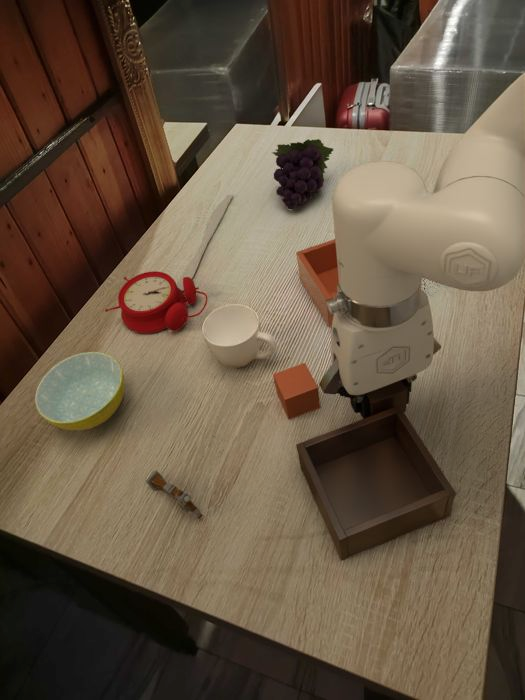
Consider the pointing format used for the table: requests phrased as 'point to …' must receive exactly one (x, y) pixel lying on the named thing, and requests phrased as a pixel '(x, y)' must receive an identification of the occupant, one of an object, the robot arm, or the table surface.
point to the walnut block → (387, 398)
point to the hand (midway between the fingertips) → (380, 402)
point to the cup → (236, 335)
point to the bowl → (81, 391)
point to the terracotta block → (297, 390)
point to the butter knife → (205, 240)
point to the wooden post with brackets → (173, 492)
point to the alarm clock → (155, 302)
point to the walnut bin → (374, 481)
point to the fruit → (300, 170)
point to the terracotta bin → (320, 275)
